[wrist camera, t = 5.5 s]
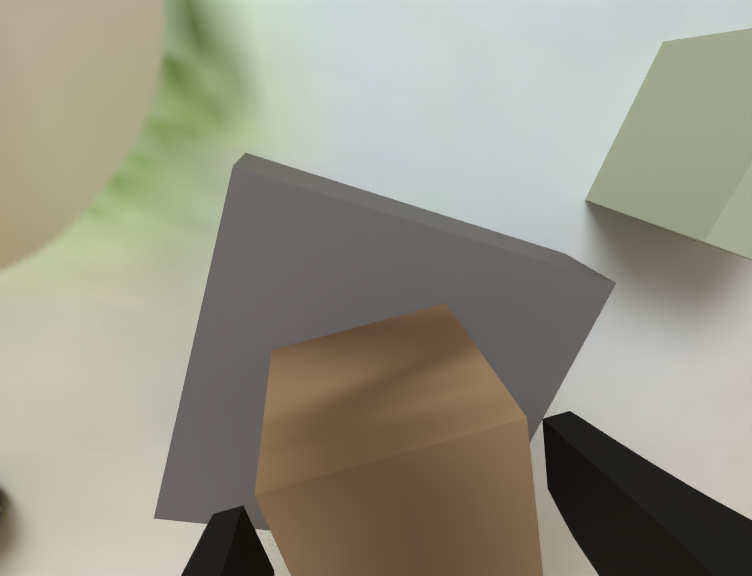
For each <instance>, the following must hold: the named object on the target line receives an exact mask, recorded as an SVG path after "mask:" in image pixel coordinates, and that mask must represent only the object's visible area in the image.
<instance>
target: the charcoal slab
mask: <svg viewBox="0 0 752 576" xmlns="http://www.w3.org/2000/svg"><path fill="white" fill-rule="evenodd" d="M615 284H616V283H615V282H613V281H611V280H610V279H608V278H606V277H604V276H603V275H601V274H599V273H597V272H596V271H594V270H592V269H591V268H589V267H587V266H585V265H584V264H582V263H580V262H578V261H577V260H575V259H573V258H572V257H570V256H568V255H566V254H564V253H561V252H558V251H555V250H552V249H548V248H545V247H542V246H539V245H536V244H533V243H529V242H526V241H523V240H520V239H517V238H514V237H510V236H507V235H504V234H501V233H498V232H495V231H491V230H488V229H485V228H482V227H479V226H476V225H472V224H469V223H466V222H463V221H460V220H457V219H453V218H450V217H447V216H444V215H441V214H438V213H434V212H431V211H428V210H425V209H422V208H419V207H415V206H412V205H409V204H406V203H403V202H400V201H396V200H393V199H390V198H387V197H384V196H381V195H377V194H374V193H371V192H368V191H365V190H362V189H358V188H355V187H352V186H349V185H346V184H343V183H339V182H336V181H333V180H330V179H327V178H324V177H320V176H317V175H314V174H311V173H308V172H305V171H301V170H298V169H295V168H292V167H289V166H286V165H282V164H279V163H276V162H273V161H270V160H267V159H263V158H260V157H257V156H254V155H251V154H248V153H245V154H244V155H243V156H242V157H241V158H240V159H239V160H238V161H237V162H236V163H235V164H234V165H233V168H232V173H231V177H230V182H229V186H228V191H227V195H226V199H225V204H224V208H223V213H222V217H221V222H220V226H219V231H218V235H217V240H216V244H215V248H214V253H213V257H212V262H211V266H210V271H209V275H208V280H207V284H206V289H205V293H204V297H203V302H202V306H201V311H200V315H199V320H198V324H197V329H196V333H195V338H194V342H193V346H192V351H191V355H190V360H189V364H188V369H187V373H186V378H185V382H184V386H183V391H182V395H181V400H180V404H179V409H178V413H177V418H176V422H175V427H174V431H173V435H172V440H171V444H170V449H169V453H168V458H167V462H166V467H165V471H164V476H163V480H162V484H161V489H160V493H159V498H158V502H157V507H156V511H155V516H154V518H155V519H164V520H174V521H184V522H194V523H203V524H208V522H209V520H210V519H211V517H212V516H213V514H215V513H218V512H222V511H225V510H229V509H232V508H236V507H239V506H243V505H244V508H245V510H246V512H247V514H248V516H249V518H250V520H251V522H252V525H253V527H254V529H262V530H270V528H269V526H268V524H267V522H266V520H265V517H264V515H263V513H262V511H261V509H260V506H259V504H258V502H257V500H256V498H255V495H254V494H255V485H256V477H257V468H258V460H259V451H260V443H261V434H262V426H263V417H264V409H265V400H266V392H267V383H268V375H269V367H270V358H271V350H274V349H278V348H282V347H285V346H289V345H293V344H296V343H300V342H304V341H307V340H311V339H315V338H318V337H322V336H326V335H330V334H333V333H337V332H341V331H345V330H348V329H352V328H356V327H359V326H363V325H367V324H371V323H374V322H378V321H382V320H386V319H389V318H393V317H397V316H400V315H404V314H408V313H412V312H415V311H419V310H423V309H427V308H430V307H434V306H438V305H441V304H445V303H446V304H447V305H448V307H449V308H450V310H451V311H452V313H453V314H454V315H455V317H456V318H457V320H458V321H459V322H460V324H461V325H462V327H463V328H464V329H465V331H466V332H467V334H468V335H469V337H470V338H471V339H472V341H473V342H474V344H475V345H476V346H477V348H478V349H479V351H480V352H481V353H482V355H483V356H484V358H485V359H486V361H487V362H488V363H489V365H490V366H491V368H492V369H493V370H494V372H495V373H496V375H497V376H498V377H499V379H500V380H501V382H502V383H503V385H504V386H505V387H506V389H507V390H508V392H509V393H510V394H511V396H512V397H513V399H514V400H515V401H516V403H517V404H518V406H519V407H520V409H521V410H522V411H523V413H524V414H525V416H526V417H527V424H528V434H529V443H530V441H531V439H532V437H533V435H534V434H535V432H536V430H537V428H538V426H539V424H540V423H541V421H542V419H543V417H544V415H545V413H546V412H547V410H548V408H549V406H550V404H551V402H552V400H553V399H554V397H555V395H556V393H557V391H558V389H559V388H560V386H561V384H562V382H563V380H564V378H565V376H566V375H567V373H568V371H569V369H570V367H571V365H572V364H573V362H574V360H575V358H576V356H577V354H578V353H579V351H580V349H581V347H582V345H583V343H584V341H585V340H586V338H587V336H588V334H589V332H590V330H591V329H592V327H593V325H594V323H595V321H596V319H597V317H598V316H599V314H600V312H601V310H602V308H603V306H604V305H605V303H606V301H607V299H608V297H609V295H610V294H611V292H612V290H613V288H614V286H615Z"/></svg>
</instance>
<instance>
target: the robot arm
mask: <svg viewBox="0 0 752 576" xmlns="http://www.w3.org/2000/svg"><path fill="white" fill-rule="evenodd" d="M543 433H544V446H545V459H546V472H547V485H548V490H549V492H550V494H551V496H552V498H553V500H554V502H555V504H556V505H557V507H558V509H559V511H560V513H561V515H562V517H563V519H564V521H565V522H566V524H567V526H568V528H569V530H570V532H571V533H572V535H573V537H574V539H575V540H576V542H577V543H578V545H579V546H580V548H581V549H582V551H583V552H584V554H585V555H586V557H587V558H588V560H589V561H590V563H591V564H592V566H593V567H594V569H595V570H596V572H597V573H598V575H599V576H752V520H750V519H748V518H747V517H745V516H743V515H741V514H739V513H737V512H736V511H734V510H732V509H730V508H728V507H726V506H725V505H723V504H721V503H719V502H717V501H716V500H714V499H712V498H710V497H708V496H707V495H705V494H703V493H701V492H700V491H698V490H696V489H694V488H693V487H691V486H689V485H687V484H686V483H684V482H682V481H681V480H679V479H677V478H676V477H674V476H672V475H671V474H669V473H667V472H666V471H664V470H662V469H661V468H659V467H657V466H656V465H654V464H652V463H651V462H649V461H648V460H646V459H644V458H643V457H641V456H640V455H638V454H636V453H635V452H633V451H632V450H630V449H628V448H627V447H625V446H624V445H622V444H621V443H619V442H617V441H616V440H614V439H613V438H611V437H610V436H608V435H607V434H605V433H603V432H602V431H600V430H599V429H597V428H596V427H594V426H593V425H591V424H590V423H588V422H586V421H585V420H583V419H582V418H580V417H579V416H577V415H575V414H574V413H572V412H571V411H568V412H565V413H561V414H558V415H554V416H551V417H547V418H544V419H543ZM181 576H274V569H273V567H272V565H271V563H270V561H269V559H268V556H267V554H266V552H265V550H264V548H263V546H262V544H261V542H260V539H259V537H258V535H257V533H256V531H255V529H254V527H253V525H252V522H251V520H250V518H249V516H248V514H247V512H246V510H245V508H244V505H243V506H239V507H236V508H232V509H229V510H225V511H222V512H218V513H215V514H213V516H212V517H211V519H210V520H209V522H208V524H207V526H206V528H205V530H204V532H203V534H202V536H201V538H200V540H199V542H198V544H197V546H196V548H195V550H194V552H193V554H192V556H191V558H190V560H189V561H188V563H187V565H186V567H185V569H184V571H183V573H182V575H181Z"/></svg>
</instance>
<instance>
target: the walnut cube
mask: <svg viewBox="0 0 752 576" xmlns="http://www.w3.org/2000/svg"><path fill="white" fill-rule="evenodd" d="M254 495H255V498H256V500H257V502H258V504H259V506H260V509H261V511H262V513H263V515H264V517H265V520H266V522H267V524H268V526H269V528H270V531H271V533H272V535H273V537H274V539H275V542H276V544H277V546H278V548H279V550H280V553H281V555H282V557H283V559H284V561H285V564H286V566H287V568H288V570H289V572H290V574H291V576H543V572H542V562H541V552H540V542H539V532H538V523H537V513H536V503H535V493H534V483H533V473H532V464H531V454H530V444H529V434H528V424H527V417H526V416H525V414H524V413H523V411H522V410H521V409H520V407H519V406H518V404H517V403H516V401H515V400H514V399H513V397H512V396H511V394H510V393H509V392H508V390H507V389H506V387H505V386H504V385H503V383H502V382H501V380H500V379H499V377H498V376H497V375H496V373H495V372H494V370H493V369H492V368H491V366H490V365H489V363H488V362H487V361H486V359H485V358H484V356H483V355H482V353H481V352H480V351H479V349H478V348H477V346H476V345H475V344H474V342H473V341H472V339H471V338H470V337H469V335H468V334H467V332H466V331H465V329H464V328H463V327H462V325H461V324H460V322H459V321H458V320H457V318H456V317H455V315H454V314H453V313H452V311H451V310H450V308H449V307H448V305H447V304H446V303H445V304H441V305H438V306H434V307H430V308H427V309H423V310H419V311H415V312H412V313H408V314H404V315H400V316H397V317H393V318H389V319H386V320H382V321H378V322H374V323H371V324H367V325H363V326H359V327H356V328H352V329H348V330H345V331H341V332H337V333H333V334H330V335H326V336H322V337H318V338H315V339H311V340H307V341H304V342H300V343H296V344H293V345H289V346H285V347H282V348H278V349H274V350H271V358H270V367H269V375H268V383H267V392H266V400H265V409H264V417H263V426H262V434H261V443H260V451H259V460H258V468H257V477H256V485H255V494H254Z"/></svg>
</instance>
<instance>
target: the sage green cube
mask: <svg viewBox="0 0 752 576" xmlns="http://www.w3.org/2000/svg"><path fill="white" fill-rule="evenodd" d="M585 200H587V201H590V202H592V203H595V204H598V205H601V206H603V207H606V208H609V209H611V210H614V211H617V212H620V213H622V214H625V215H628V216H631V217H633V218H636V219H639V220H641V221H644V222H647V223H650V224H652V225H655V226H658V227H660V228H663V229H666V230H669V231H671V232H674V233H677V234H679V235H682V236H685V237H688V238H690V239H693V240H696V241H698V242H701V243H704V244H707V245H710V246H712V247H715V248H718V249H721V250H724V251H726V252H729V253H732V254H735V255H738V256H741V257H743V258H746V259H749V260H752V28H751V29H744V30H738V31H731V32H725V33H718V34H712V35H705V36H699V37H692V38H686V39H679V40H672V41H666V42H663V43H662V45H661V47H660V49H659V51H658V53H657V55H656V57H655V59H654V61H653V63H652V65H651V67H650V69H649V71H648V73H647V76H646V78H645V80H644V82H643V84H642V86H641V88H640V90H639V92H638V94H637V96H636V98H635V100H634V102H633V104H632V106H631V108H630V110H629V112H628V114H627V116H626V118H625V120H624V122H623V124H622V126H621V128H620V130H619V132H618V134H617V136H616V138H615V140H614V142H613V144H612V146H611V148H610V150H609V152H608V154H607V156H606V158H605V160H604V162H603V164H602V166H601V169H600V171H599V173H598V175H597V177H596V179H595V181H594V183H593V185H592V187H591V189H590V191H589V193H588V195H587V197H586V199H585Z"/></svg>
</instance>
